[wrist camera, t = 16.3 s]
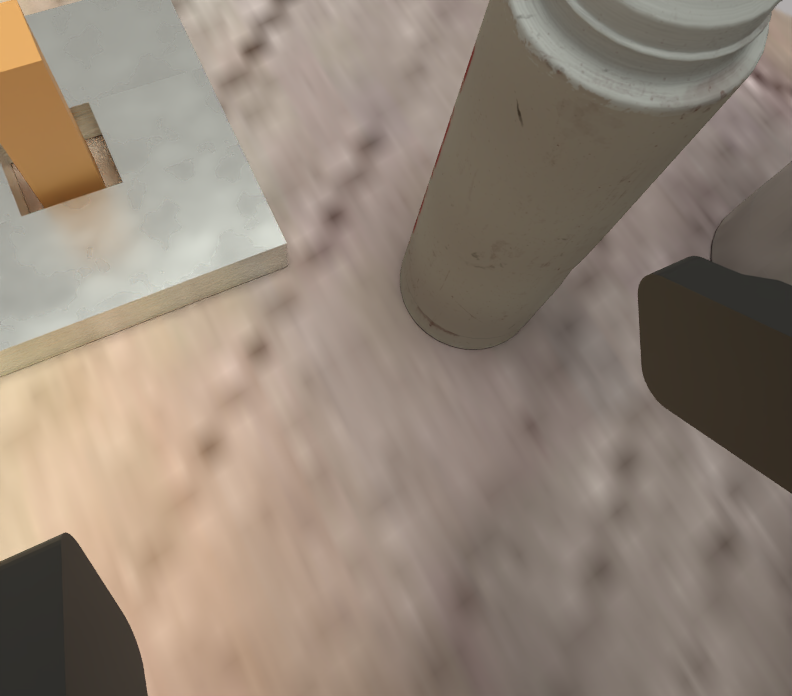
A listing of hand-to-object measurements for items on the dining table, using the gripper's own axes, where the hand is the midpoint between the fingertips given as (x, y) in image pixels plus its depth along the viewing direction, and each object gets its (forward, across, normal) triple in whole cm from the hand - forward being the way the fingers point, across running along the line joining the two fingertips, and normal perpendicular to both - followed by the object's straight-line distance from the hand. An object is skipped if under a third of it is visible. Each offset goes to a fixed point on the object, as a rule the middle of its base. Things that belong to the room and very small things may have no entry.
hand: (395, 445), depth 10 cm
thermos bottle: (+27, -13, +14) cm, 33 cm away
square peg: (+37, +5, +4) cm, 37 cm away
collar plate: (+37, +5, +4) cm, 37 cm away
